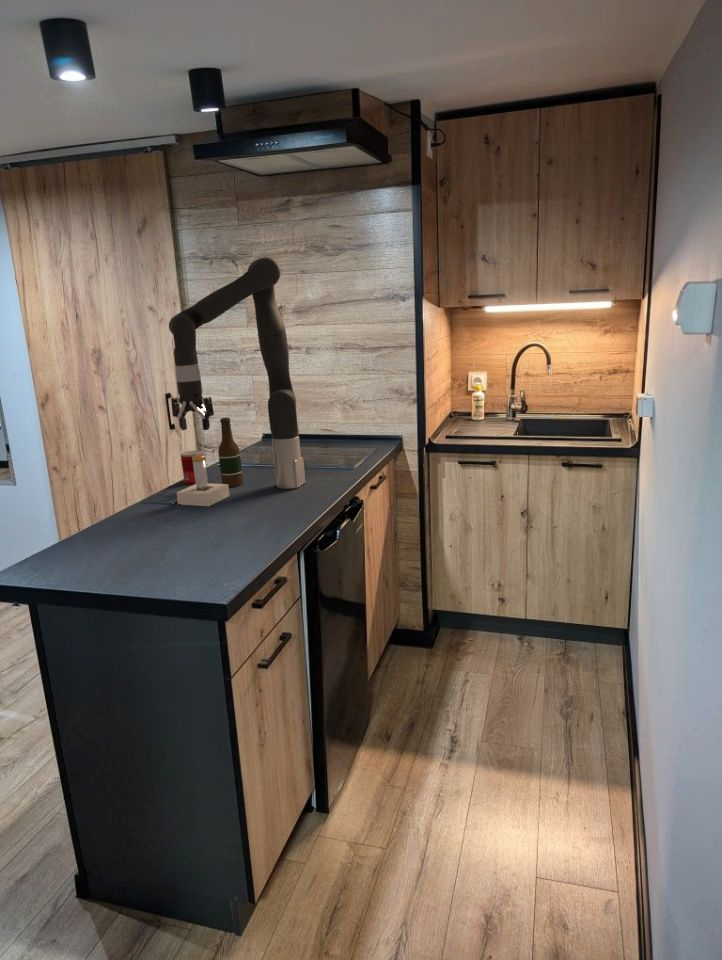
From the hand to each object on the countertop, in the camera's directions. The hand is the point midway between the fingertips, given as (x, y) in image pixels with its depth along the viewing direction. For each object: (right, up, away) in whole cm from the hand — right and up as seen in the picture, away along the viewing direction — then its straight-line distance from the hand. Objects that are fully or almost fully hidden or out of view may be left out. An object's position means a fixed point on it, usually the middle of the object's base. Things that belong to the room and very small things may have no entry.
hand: (195, 429), depth 217 cm
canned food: (-8, -17, +32) cm, 37 cm away
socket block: (+2, -23, +6) cm, 24 cm away
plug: (+2, -23, +6) cm, 24 cm away
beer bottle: (+8, -18, +23) cm, 30 cm away
